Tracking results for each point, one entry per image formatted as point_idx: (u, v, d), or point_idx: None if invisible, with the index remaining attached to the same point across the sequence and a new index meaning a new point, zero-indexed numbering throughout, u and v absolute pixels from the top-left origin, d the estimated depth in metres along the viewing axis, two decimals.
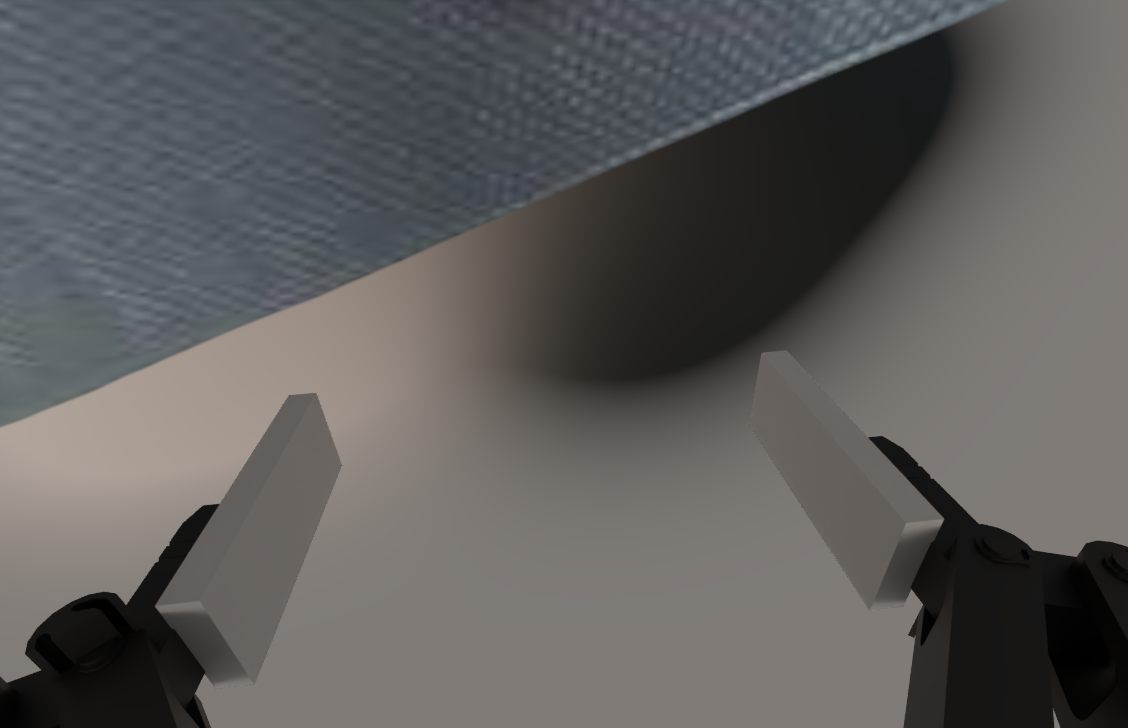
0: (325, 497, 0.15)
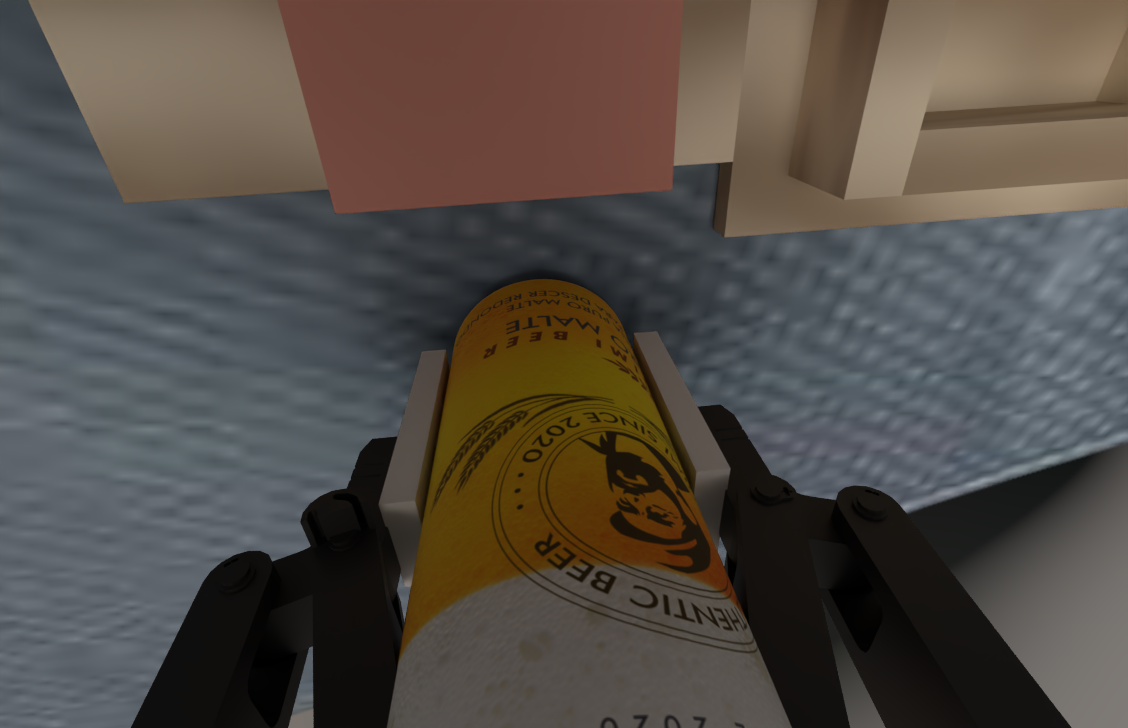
0: None
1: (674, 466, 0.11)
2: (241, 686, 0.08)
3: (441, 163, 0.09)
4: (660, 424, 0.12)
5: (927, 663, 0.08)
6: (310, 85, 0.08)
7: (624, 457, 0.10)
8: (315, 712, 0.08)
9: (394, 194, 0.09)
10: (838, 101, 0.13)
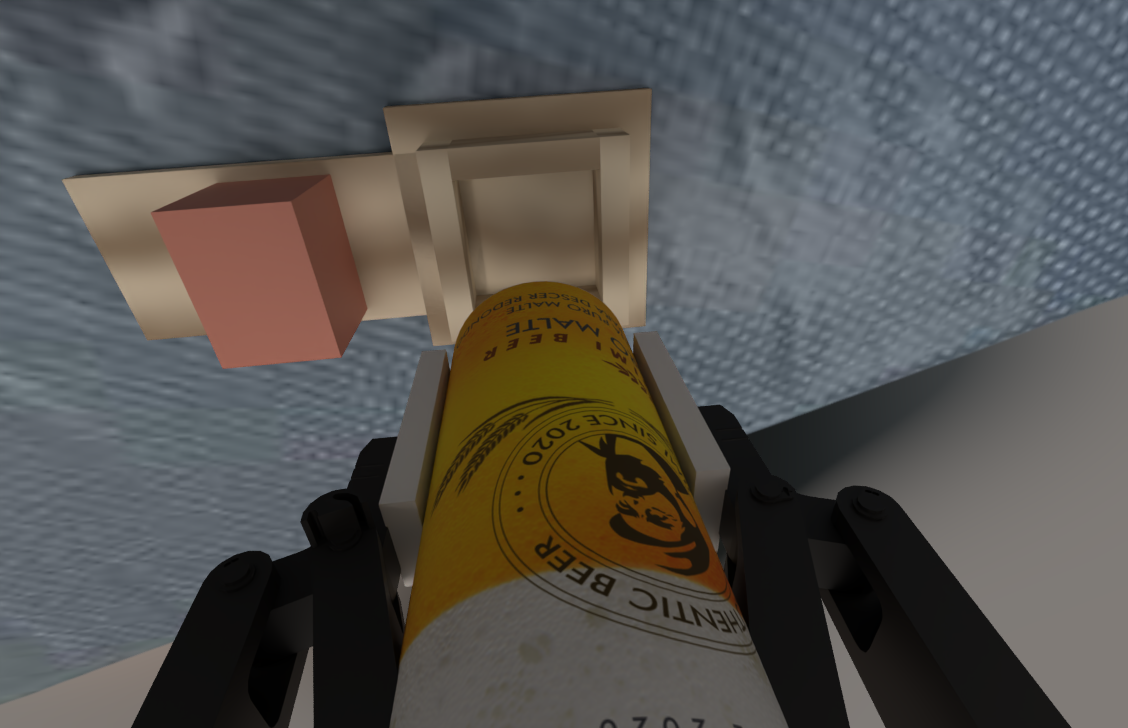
0: None
1: (673, 468, 0.11)
2: (241, 686, 0.08)
3: (256, 353, 0.27)
4: (659, 426, 0.12)
5: (927, 663, 0.08)
6: (210, 334, 0.26)
7: (624, 460, 0.10)
8: (315, 712, 0.08)
9: (242, 362, 0.27)
10: None
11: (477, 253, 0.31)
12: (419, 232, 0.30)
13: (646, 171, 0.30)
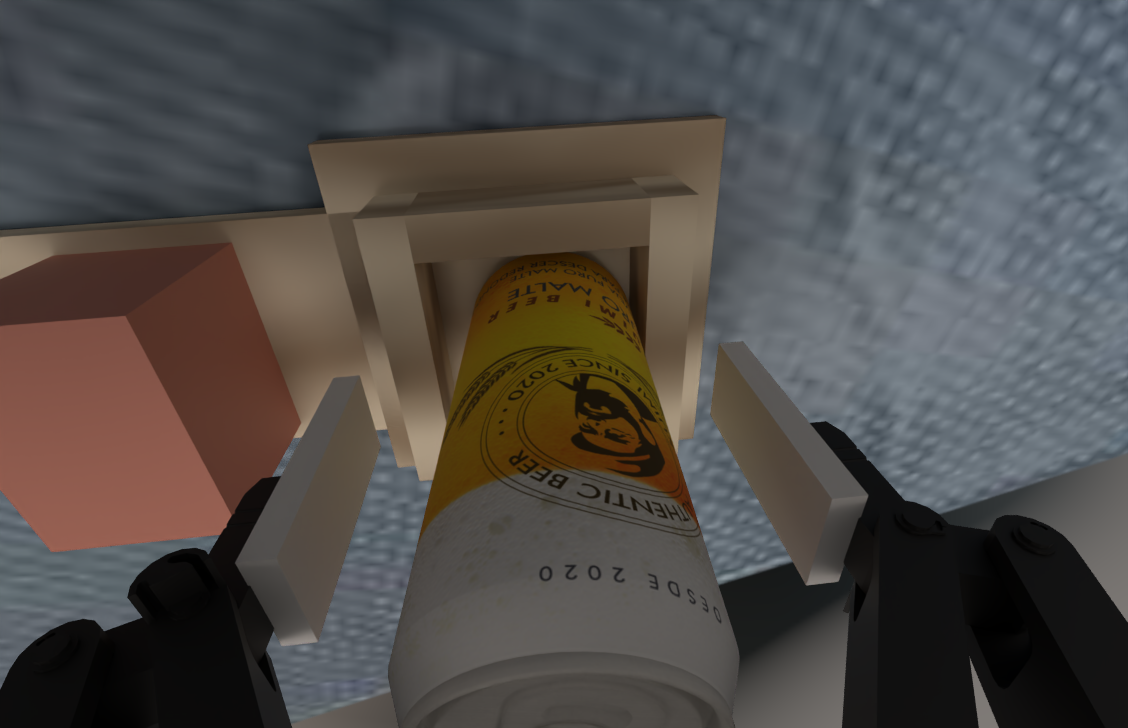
0: (368, 475, 0.15)
1: (644, 401, 0.12)
2: None
3: (103, 530, 0.17)
4: (640, 369, 0.14)
5: (1081, 707, 0.07)
6: (21, 508, 0.16)
7: (593, 393, 0.11)
8: None
9: (82, 543, 0.17)
10: None
11: (458, 349, 0.21)
12: (373, 321, 0.20)
13: (709, 237, 0.20)
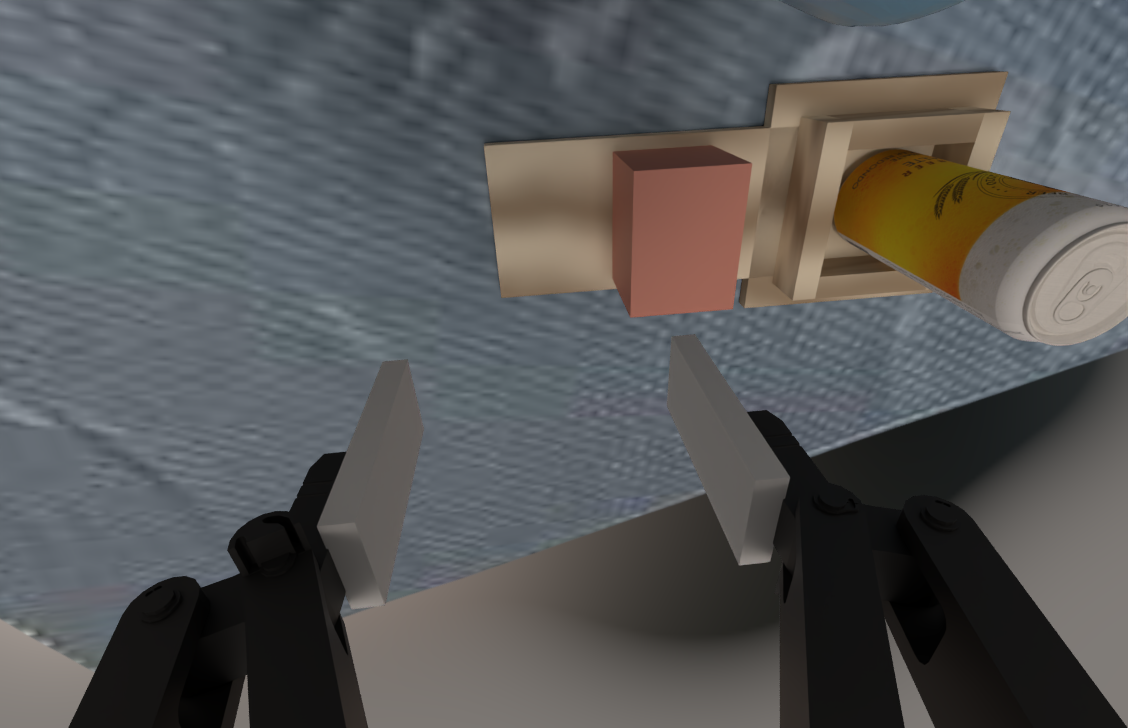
0: (416, 455, 0.16)
1: None
2: (170, 716, 0.08)
3: (664, 303, 0.30)
4: None
5: (992, 678, 0.08)
6: (634, 284, 0.29)
7: (1026, 181, 0.24)
8: None
9: (649, 311, 0.30)
10: (790, 263, 0.34)
11: None
12: (769, 200, 0.33)
13: None
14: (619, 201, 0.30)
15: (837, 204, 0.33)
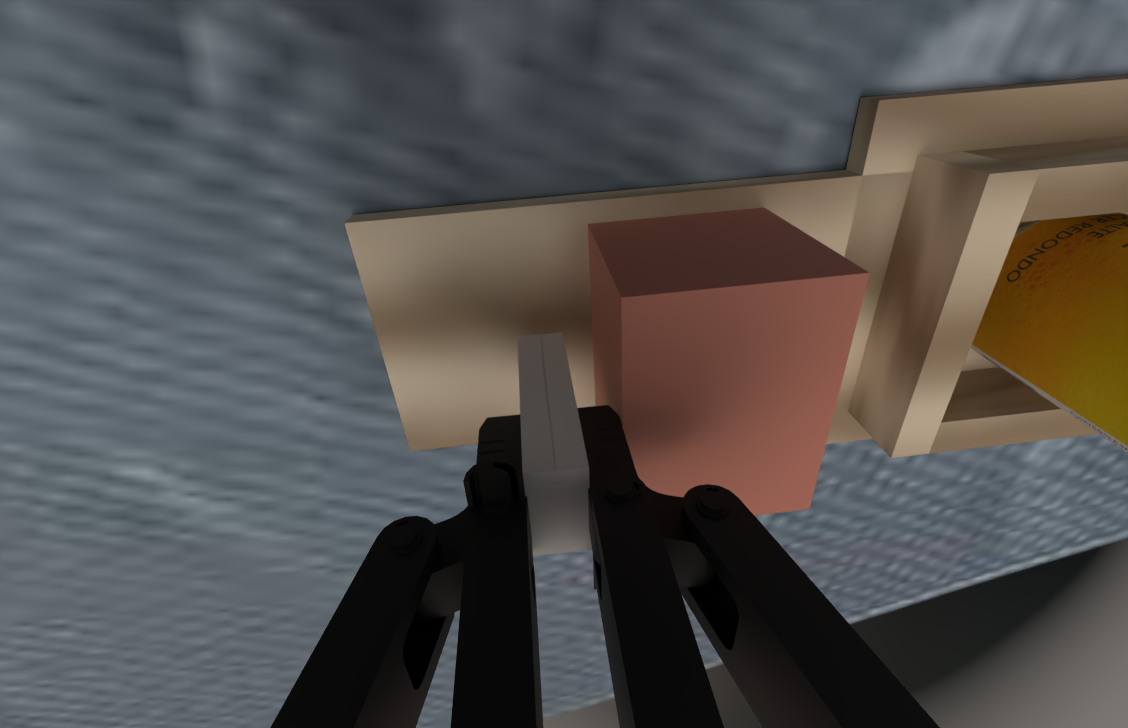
0: None
1: None
2: (398, 647, 0.09)
3: None
4: None
5: (782, 656, 0.08)
6: None
7: None
8: (457, 661, 0.08)
9: None
10: (887, 396, 0.20)
11: None
12: None
13: None
14: (600, 317, 0.17)
15: None
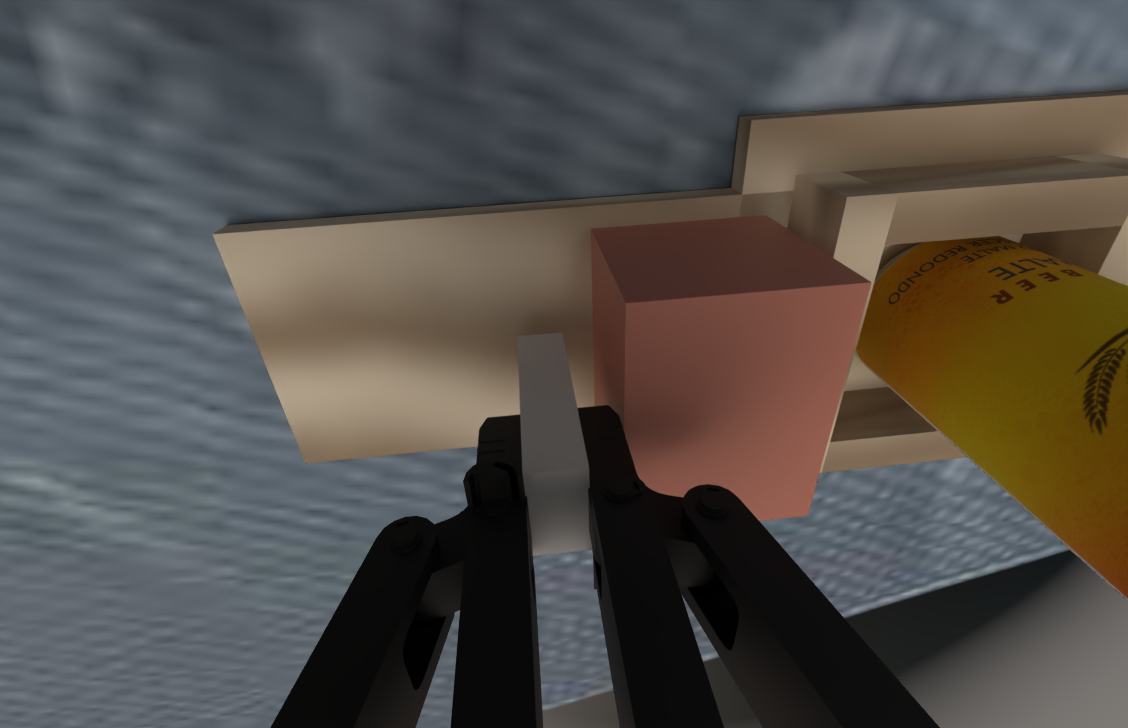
0: None
1: None
2: (398, 647, 0.09)
3: None
4: None
5: (782, 656, 0.08)
6: None
7: None
8: (457, 661, 0.08)
9: None
10: None
11: None
12: None
13: None
14: (602, 322, 0.17)
15: None
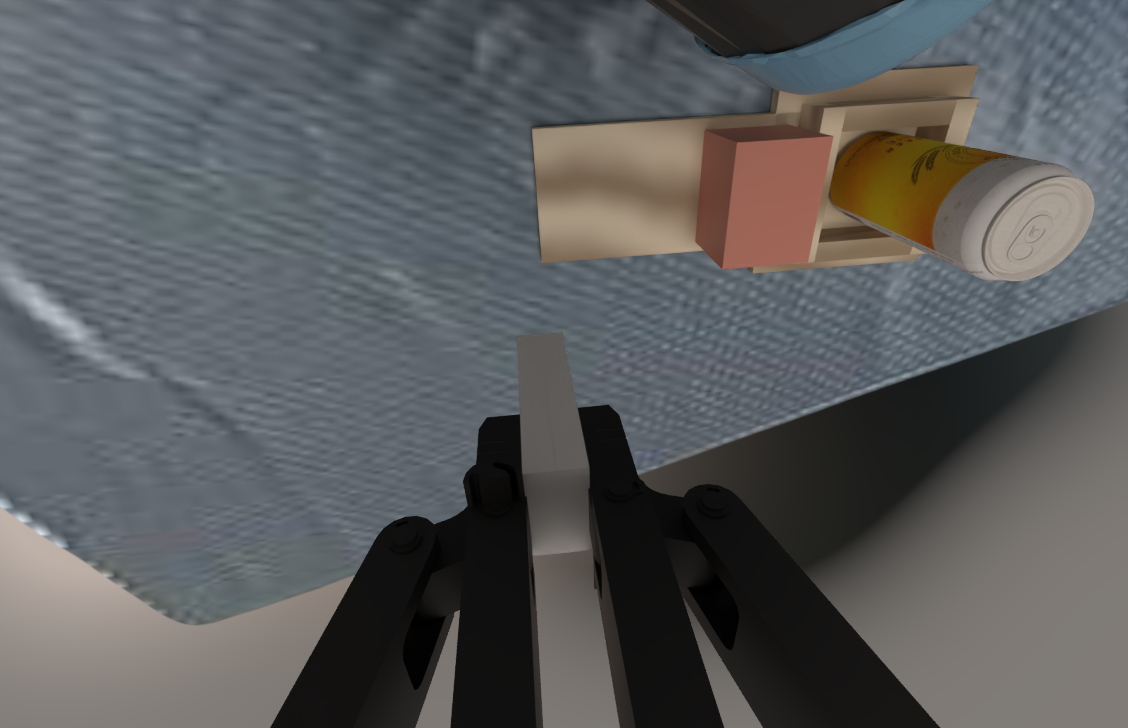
0: None
1: None
2: (398, 647, 0.09)
3: (752, 256, 0.35)
4: None
5: (782, 656, 0.08)
6: (727, 240, 0.34)
7: None
8: (457, 661, 0.08)
9: (738, 264, 0.35)
10: None
11: None
12: None
13: None
14: (712, 171, 0.36)
15: (833, 180, 0.38)
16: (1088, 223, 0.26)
